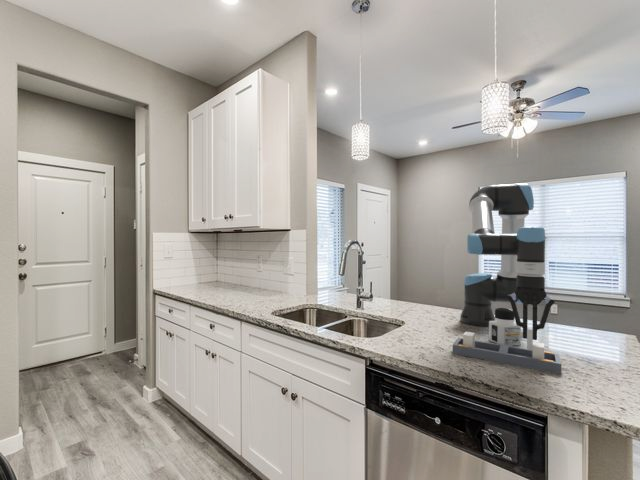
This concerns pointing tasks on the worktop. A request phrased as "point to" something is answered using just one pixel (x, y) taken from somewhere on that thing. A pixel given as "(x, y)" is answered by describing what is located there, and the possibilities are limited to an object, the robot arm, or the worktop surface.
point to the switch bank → (509, 355)
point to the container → (504, 328)
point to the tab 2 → (538, 350)
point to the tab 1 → (469, 339)
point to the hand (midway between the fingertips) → (529, 349)
